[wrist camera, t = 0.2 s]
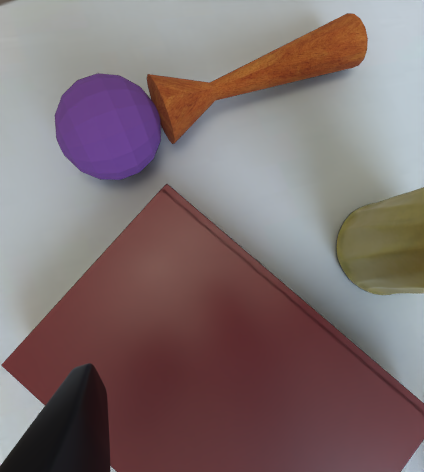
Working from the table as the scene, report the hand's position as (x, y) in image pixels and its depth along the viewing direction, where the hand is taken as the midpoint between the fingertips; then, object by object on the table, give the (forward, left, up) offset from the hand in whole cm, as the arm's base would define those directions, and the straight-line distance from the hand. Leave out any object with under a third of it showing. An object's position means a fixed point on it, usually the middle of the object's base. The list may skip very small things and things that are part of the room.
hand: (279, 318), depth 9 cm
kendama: (+10, -8, -15) cm, 20 cm away
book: (-3, +4, -15) cm, 16 cm away
